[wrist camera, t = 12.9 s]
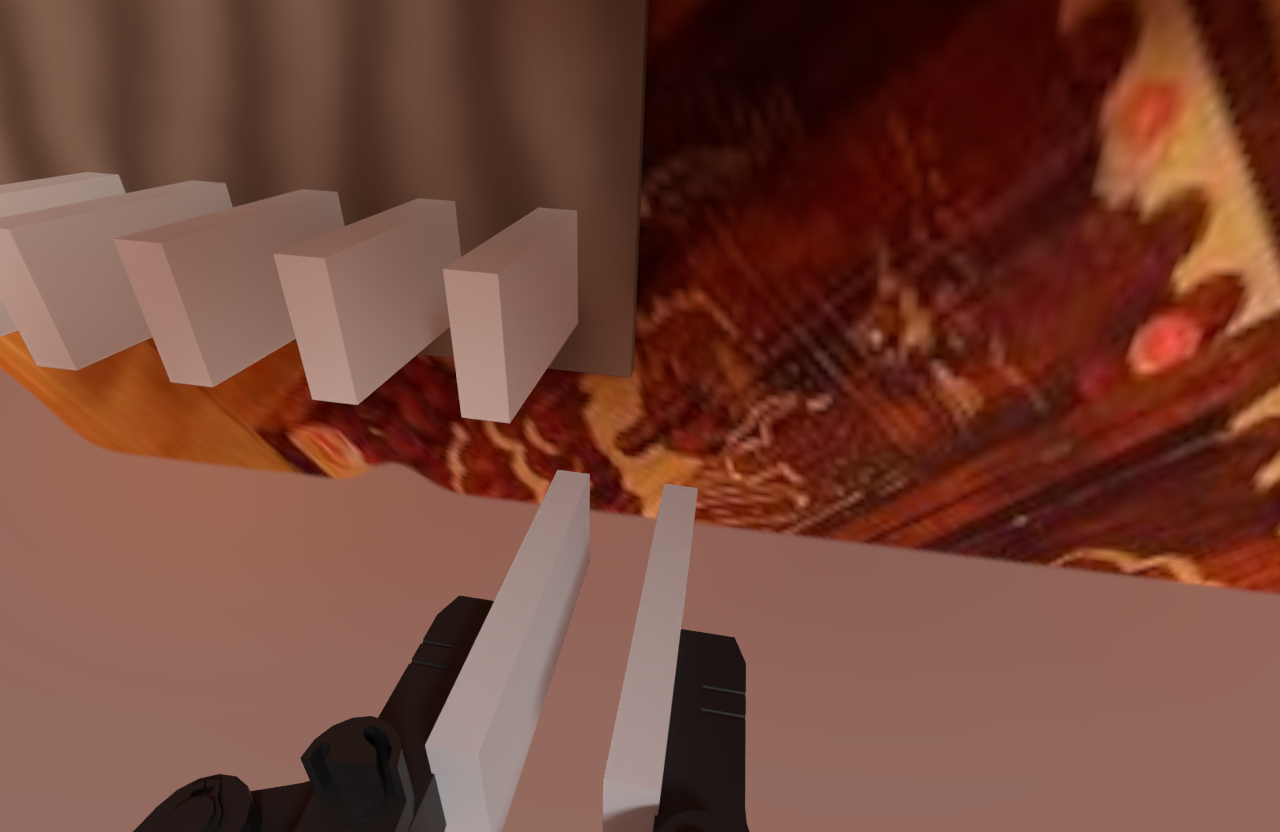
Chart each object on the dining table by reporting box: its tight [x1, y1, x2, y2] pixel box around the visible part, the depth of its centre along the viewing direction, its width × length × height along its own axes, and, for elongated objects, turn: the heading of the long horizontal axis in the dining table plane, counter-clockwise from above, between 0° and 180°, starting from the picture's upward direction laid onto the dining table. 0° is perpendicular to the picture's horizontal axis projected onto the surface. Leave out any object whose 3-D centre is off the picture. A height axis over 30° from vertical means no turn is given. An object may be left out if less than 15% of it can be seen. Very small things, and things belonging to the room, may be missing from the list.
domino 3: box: [113, 189, 344, 387], centre depth 28 cm, size 2×6×11 cm, turn 177°
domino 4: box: [273, 198, 461, 405], centre depth 28 cm, size 2×6×11 cm, turn 177°
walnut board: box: [0, 0, 649, 378], centre depth 32 cm, size 40×20×1 cm, turn 87°
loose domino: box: [443, 207, 578, 423], centre depth 27 cm, size 2×6×11 cm, turn 177°
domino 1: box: [0, 172, 125, 337], centre depth 30 cm, size 2×6×11 cm, turn 177°
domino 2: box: [0, 180, 232, 371], centre depth 29 cm, size 2×6×11 cm, turn 178°
